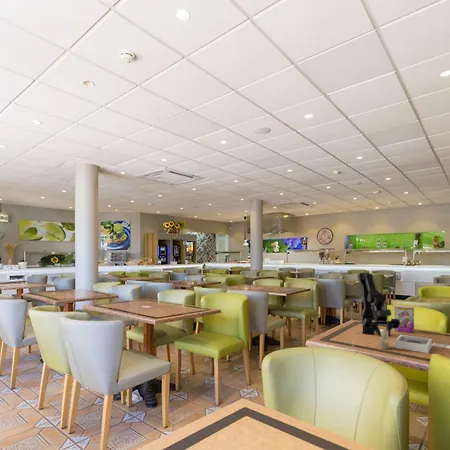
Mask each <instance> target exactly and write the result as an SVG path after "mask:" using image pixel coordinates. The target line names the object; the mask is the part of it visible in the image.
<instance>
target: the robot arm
mask: <svg viewBox="0 0 450 450" xmlns="http://www.w3.org/2000/svg"><path fill="white" fill-rule="evenodd" d="M373 276H374V275H373V274H372V273H370V272H359V273H358V274H357V280H358V283H359V284H360V285H361V289H362V291H361V292H362V299H363V310H362V311H361V316H360V323H361V324H362V333H361V334H366V335H371V336H373V335H375V334H377V336H378V337H379V338H380V337H381V333H380V328H379V326H386V328H385V329H388V334H389V338H390V337H391V331H392V329H395V328H398V327H399V325H400V320H399V319H395V318H391V320H388V321H386V320H387V318H388V317H391V316H392V311H391V309H387V310H383V308H382V307H384V304H385V302H387V297H386V296H385V294H382V292H380V291H378V290H377V288H376V284H375V281H374V278H373Z"/></svg>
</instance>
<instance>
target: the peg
mask: <svg viewBox="0 0 450 450" xmlns="http://www.w3.org/2000/svg"><path fill="white" fill-rule="evenodd" d="M379 330H380V333H381V337H380V336H379V348H380V349H382V350H389V349H390V345H389V344H390V343H389V342H390V337H389V334H388V329H386V328H379Z"/></svg>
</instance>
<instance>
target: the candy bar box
mask: <svg viewBox="0 0 450 450" xmlns="http://www.w3.org/2000/svg"><path fill="white" fill-rule="evenodd" d="M394 319H399V320H400V325H399V327H398V328H394V332H400V333H401V332H402V333H409V334H415V307H414V306H406V305H405V306H404V305H394Z"/></svg>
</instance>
